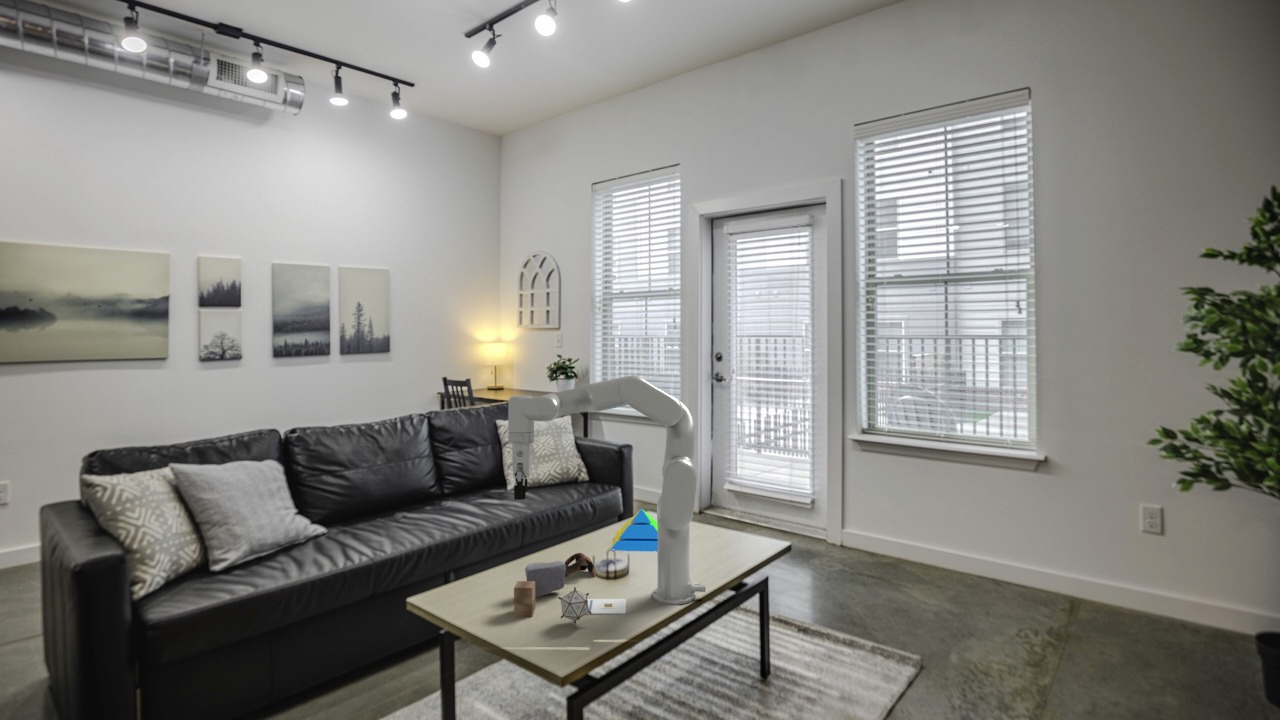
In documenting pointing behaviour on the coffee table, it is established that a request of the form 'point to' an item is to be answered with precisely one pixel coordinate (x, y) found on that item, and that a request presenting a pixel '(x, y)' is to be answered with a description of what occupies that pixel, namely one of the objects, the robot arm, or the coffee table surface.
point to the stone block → (546, 576)
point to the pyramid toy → (637, 534)
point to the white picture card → (607, 606)
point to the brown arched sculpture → (579, 564)
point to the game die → (574, 605)
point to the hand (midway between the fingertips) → (520, 495)
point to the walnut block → (524, 599)
